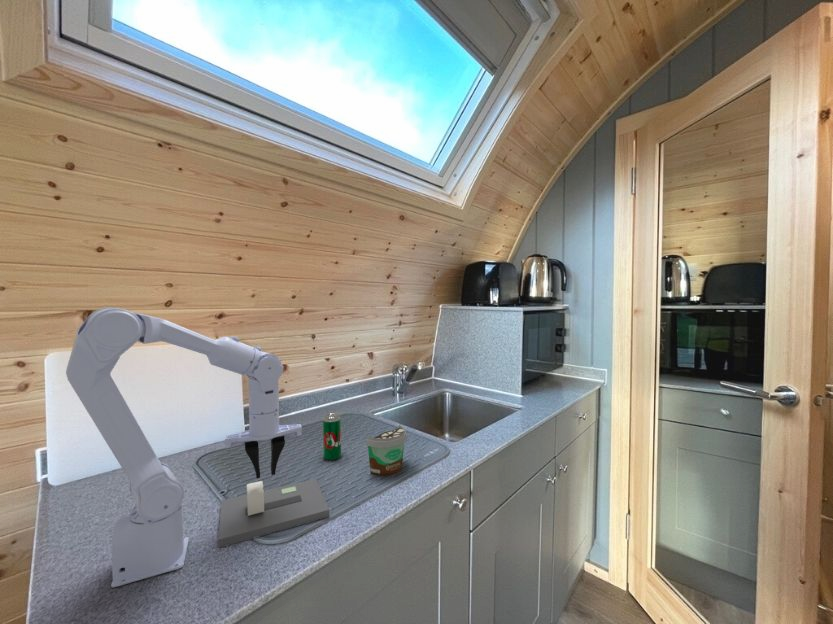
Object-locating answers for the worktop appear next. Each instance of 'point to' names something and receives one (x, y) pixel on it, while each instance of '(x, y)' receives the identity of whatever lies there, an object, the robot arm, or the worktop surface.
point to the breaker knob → (255, 498)
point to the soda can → (331, 436)
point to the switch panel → (271, 512)
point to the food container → (386, 452)
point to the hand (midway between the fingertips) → (265, 474)
